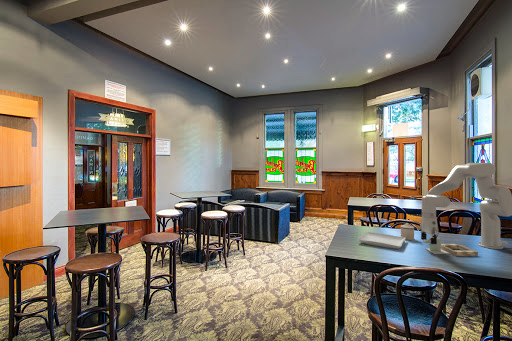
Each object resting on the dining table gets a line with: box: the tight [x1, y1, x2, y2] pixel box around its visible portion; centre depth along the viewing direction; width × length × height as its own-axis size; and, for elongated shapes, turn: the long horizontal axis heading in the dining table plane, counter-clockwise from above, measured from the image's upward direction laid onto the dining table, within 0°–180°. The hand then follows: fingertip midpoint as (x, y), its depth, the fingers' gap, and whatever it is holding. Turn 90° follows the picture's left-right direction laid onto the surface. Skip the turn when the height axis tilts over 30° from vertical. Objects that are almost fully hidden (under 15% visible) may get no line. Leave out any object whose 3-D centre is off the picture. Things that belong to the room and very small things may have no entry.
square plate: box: [357, 231, 406, 249], centre depth 182 cm, size 27×27×4 cm
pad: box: [425, 247, 450, 255], centre depth 162 cm, size 9×9×1 cm
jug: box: [422, 236, 442, 252], centre depth 162 cm, size 10×6×8 cm, turn 88°
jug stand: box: [441, 243, 479, 257], centre depth 162 cm, size 14×16×2 cm
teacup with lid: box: [400, 222, 415, 241], centre depth 193 cm, size 12×9×12 cm
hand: (428, 241), depth 162 cm, fingers open, 9 cm apart
